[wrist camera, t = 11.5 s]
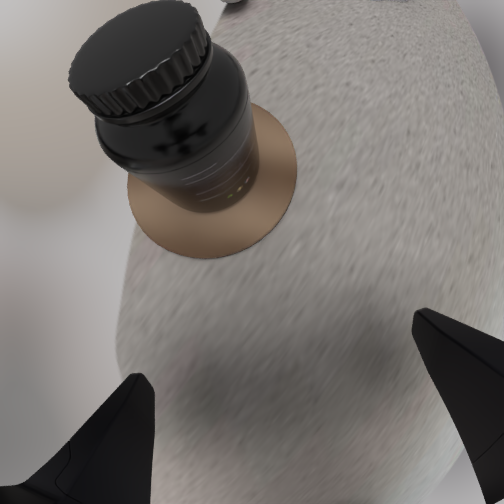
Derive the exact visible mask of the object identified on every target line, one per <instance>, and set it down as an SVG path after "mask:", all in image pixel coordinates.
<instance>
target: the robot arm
mask: <svg viewBox="0 0 504 504" xmlns="http://www.w3.org/2000/svg"><path fill="white" fill-rule="evenodd" d="M412 336H413V338H414V340H415V343H416V345H417V347H418V350H419V352H420V354H421V357H422V359H423V361H424V364H425V366H426V368H427V371H428V373H429V375H430V377H431V379H432V380H433V382H434V384H435V386H436V388H437V390H438V392H439V394H440V396H441V398H442V399H443V401H444V403H445V405H446V407H447V409H448V411H449V413H450V416H451V418H452V420H453V422H454V424H455V426H456V428H457V430H458V433H459V435H460V437H461V439H462V441H463V444H464V446H465V448H466V451H467V453H468V455H469V458H470V460H471V463H472V465H473V468H474V471H475V473H476V476H477V479H478V481H479V484H480V487H481V490H482V493H483V496H484V499H485V502H486V504H495V503H496V502H498V501H500V500H502V499H504V341H502V340H499V339H497V338H495V337H493V336H490V335H488V334H486V333H484V332H481V331H479V330H477V329H475V328H472V327H470V326H468V325H466V324H463V323H461V322H459V321H456V320H454V319H452V318H450V317H447V316H445V315H443V314H440V313H438V312H436V311H433V310H431V309H429V308H422V309H419V310H417V311H415V313H414V317H413V324H412ZM154 436H155V392H154V389H153V387H152V386H151V384H150V383H149V381H148V380H147V379H146V377H145V376H144V375H143V374H142V373H132V374H130V375H129V376H128V377H127V378H126V379H125V380H124V381H123V382H122V383H121V385H120V386H119V387H118V388H117V389H116V390H115V391H114V392H113V393H112V394H111V395H110V397H108V399H107V400H106V401H105V402H104V403H103V404H102V405H101V406H100V407H99V409H97V410H96V412H95V413H94V414H93V415H92V416H91V417H90V418H89V419H88V420H87V421H86V422H85V423H84V424H83V426H82V427H81V428H80V429H79V430H78V431H77V432H76V433H75V434H74V435H73V436H72V437H71V439H70V441H68V442H67V443H66V444H65V445H64V446H63V447H62V448H61V449H60V450H59V451H58V452H57V453H56V454H55V455H54V456H53V457H52V458H51V459H50V460H49V461H48V462H47V463H46V464H45V465H44V466H42V467H41V468H40V469H39V470H38V471H37V472H36V473H35V474H33V475H32V476H31V477H30V478H29V479H28V480H26V481H25V482H23V483H21V484H18V485H12V486H0V504H150V497H151V476H152V460H153V447H154Z"/></svg>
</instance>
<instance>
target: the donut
mask: <svg viewBox="0 0 504 504" xmlns="http://www.w3.org/2000/svg"><path fill="white" fill-rule="evenodd" d="M221 1H223V2H226V3H236V2H239V1H241V0H221Z"/></svg>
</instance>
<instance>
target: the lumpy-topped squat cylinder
mask: <svg viewBox="0 0 504 504" xmlns="http://www.w3.org/2000/svg"><path fill="white" fill-rule="evenodd" d="M372 1H382V0H372ZM390 1H397V2H407V0H390Z"/></svg>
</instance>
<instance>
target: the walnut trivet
mask: <svg viewBox="0 0 504 504" xmlns="http://www.w3.org/2000/svg"><path fill="white" fill-rule="evenodd" d="M251 107H252V113H253V119H254V124H255V130H256V136H257V142H258V148H259V158H260V162H259V170H258V174H257V177H256V179H255V181H254V183H253V185H252V187H251V188H250V190H249V191H248V192H247V193H246V194H245V195H244V196H243V197H242V198H241V199H240V200H239V201H238V202H236V203H235V204H233V205H231V206H230V207H228V208H225V209H223V210H220V211H216V212H211V213H196V212H191V211H188V210H185V209H183V208H181V207H179V206H177V205H176V204H174V203H172V202H171V201H169V200H168V199H166V198H165V197H164V196H162V195H161V194H159V193H158V192H156V191H155V190H153V189H152V188H150V187H149V186H148V185H146V184H145V183H143V182H142V181H140V180H139V179H137V178H136V177H134V176H133V175H132V174H130V173H128V184H127V188H128V199H129V204H130V207H131V210H132V213H133V215H134V217H135V219H136V221H137V223H138V225H139V226H140V227H141V229H142V230H143V232H144V233H145V234H146V235H147V236H148V237H149V238H150V239H151V240H153V241H154V242H155V243H157V244H158V245H159V246H161V247H163V248H165V249H167V250H168V251H171V252H174V253H177V254H179V255H183V256H188V257H192V258H204V259H207V258H219V257H224V256H228V255H231V254H234V253H237V252H240V251H242V250H244V249H246V248H248V247H250V246H252V245H254V244H255V243H257V242H258V241H260V240H261V239H262V238H263V237H265V236H266V235H267V234H268V233H269V232H270V231H271V230H272V229H273V228H274V227H275V226H276V225H277V223H278V222H279V221H280V219H281V218H282V216H283V215H284V213H285V212H286V210H287V208H288V206H289V204H290V202H291V199H292V196H293V193H294V188H295V182H296V177H297V162H296V154H295V150H294V147H293V144H292V141H291V139H290V137H289V135H288V133H287V132H286V130H285V129H284V127H283V126H282V125H281V123H280V122H279V121H278V120H277V119H276V118H275V117H274V116H273V115H271V114H270V113H269V112H268V111H266V110H265V109H263V108H261V107H260V106H258V105H255V104H253V103H251Z"/></svg>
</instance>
